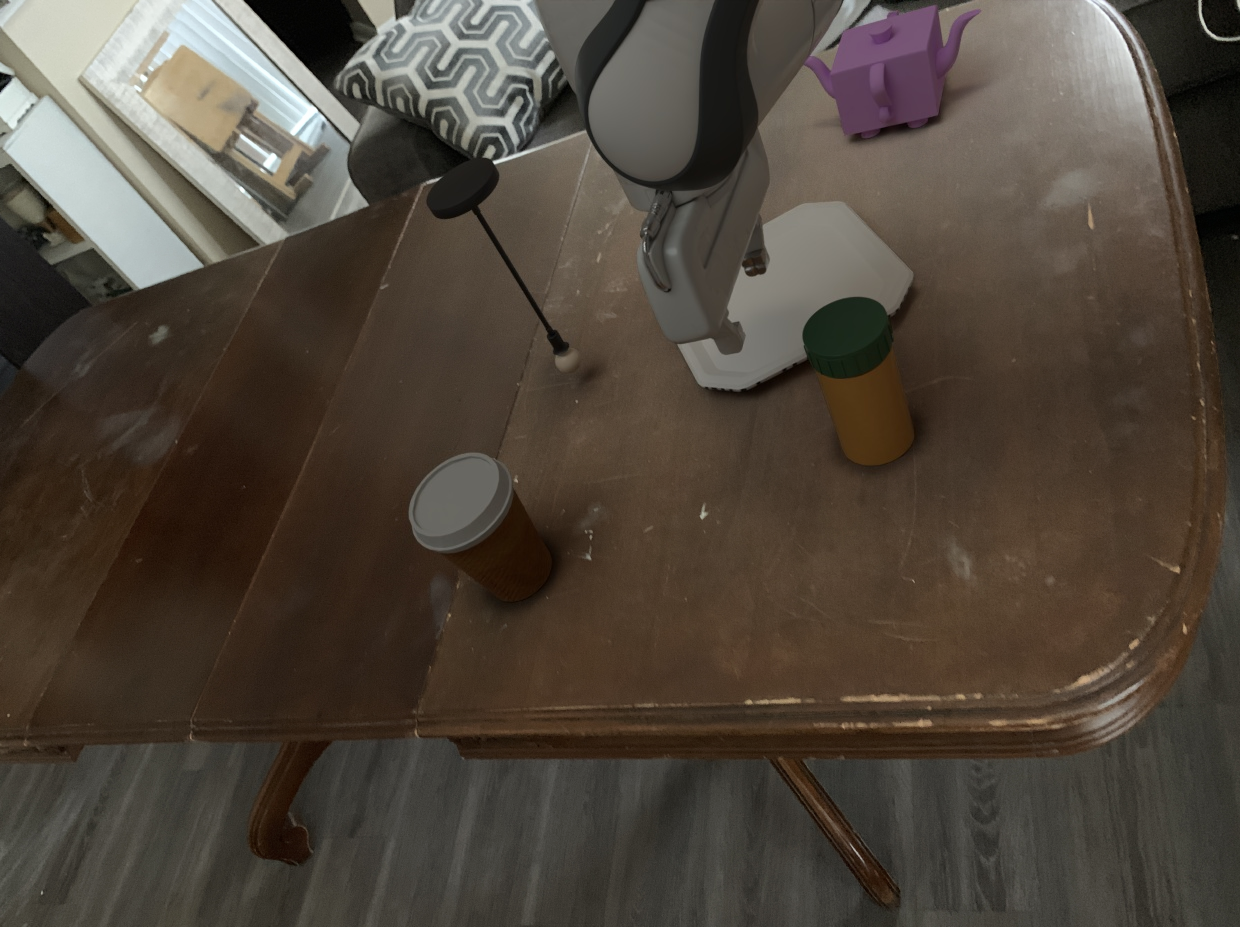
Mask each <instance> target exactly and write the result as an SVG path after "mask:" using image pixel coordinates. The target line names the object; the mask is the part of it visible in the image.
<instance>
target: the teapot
mask: <svg viewBox="0 0 1240 927" xmlns="http://www.w3.org/2000/svg"><path fill="white" fill-rule="evenodd" d="M981 12H982V9H981V8H978V9H973V10H968V11H967V12H964V13H962V14H961V15H959V16H958V17H957V18H955V19H954V21H953V23H952V25H951V26H950V30H949V33H948V37H947V41H946V42H945V45H944V39H943V34H942V27H941V21H940V13H939V7H938V4H933V5H929V6H926V7H922V8H919V9H915V10H912V11H908V12H904V13H901V14H900V12H899V9H897V10H892V11H889V12H888V13H887V14H886V18H884V19H880V20H877V21H873V22H870V23H866V24H865V23H864V24H862V25H859V26H855V27H852V28H848V29H845V30H843V31H842V34H841V38H840V41H839V44H838V47H837V50H836V53H835V57H834V60H833V63H832V67H831V69H830V68H829V67H828V66H827V64H826V63H825V62H824V61H823V60H822V59H821V58H819V57H817V56H814V55H810V56H809V58H808V59H807V60H806V62H805V63H804V64H803V66H805V67H807V68H808V69H810V70H811V71H812V72H813V74H814V75H815V76H816V78H817V79H818V81H819V83H820V85H821V87H822V88H823V90H824V91H825V92H826V94H827V95H828V96H829V97H830V98H832V99H834V100H835V103H836V108H837V111H838V115H839V121H840V123H841V127H842V131H843V135H844V136H850V135H855V134H860V133H861V135H860V137H861V138H863V139H870V138H873V137H875V136H877V135H878V134H879V133H880V132H881V129H882V128H887V127H891V126H896V125H900V124H905V123H907V125H908V127H909V128H910V129H916V128H920V127H922V126H924V125H925V124H927V123H928V121H929V118H932V117H937V116H938V115H939V111H940V105H941V101H942V98H943V97H942V96H943V92H944V86H945V83H946V78H947V77H946V76H947V74H948V72H950V70H951V69H952V68H953V67H954V65H955V63H956V61H957V58H958V55H959V52H960V47H961V41H962V38H963V37H962V36H963V33H964V30H965V29H966V26H968V24H969V23H970V21H972V20H973V19H974V18H975V17H976V16H978V15H980V13H981Z"/></svg>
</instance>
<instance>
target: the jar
mask: <svg viewBox="0 0 1240 927" xmlns="http://www.w3.org/2000/svg"><path fill="white" fill-rule="evenodd" d="M814 372H815V375H816V377H817V380H818V383H819V387H820V390H821V393H822V395H823V398H824V401H825V404H826V408H827V410H828V413H829V415H830V419H831V421H832V424H833V426H834V431H835V433H836V436H837V439H838V442H839V444H840V447H841V448H840V449H841V450H842V452H843V454H844V456H845V457H846V458H847V459H848V460H849V461H851V462H853V463H855V464H858V465H862V466H871V467H873V466H880V465H881V466H882V465H885V464H889V463H891V462H894V461H895V460H898V458H900V457H901V456H903V455H904V454H905V453H906V452H907V451H908V450H909V449H910V447H911V446H912V444H913V442H914V439H915V427H914V423H913V418H912V415H911V411H910V408H909V404H908V400H907V395H906V391H905V388H904V384H903V380H902V376H901V372H900V368H899V363H898V359H897V355H896V351H895V347H894V343H893V344H892V348H891V351H890V352H889V354H888V355H887V357H886V358H885V359H884V360H883V361H882V362H881V363H880V364H879V365H877V366H876V367H874V368H873V369H871V370H870V371H868V372H865V373H863V374H860V375H857V376H854V377H848V378H832V377H827V376H824V375H821V374H820V373H818V372H817V371H816V370H815V369H814Z"/></svg>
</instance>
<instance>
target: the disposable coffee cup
mask: <svg viewBox="0 0 1240 927" xmlns="http://www.w3.org/2000/svg"><path fill="white" fill-rule="evenodd" d="M409 502H410V503H409V505H408V506H409V507H408V520H409V522H410V524H411V529H412V534H413V536H414V538H415V540H416V541H417V542H418V543H419V544H420V545H421V546H422V547H423V548H426V549H427V550H430V551H433V552H436V553H438V554H440V555H441V556H442V557H444V558H445V560H448V561H449V562H450V563H452V564H453V565H454V566H455V567H457V568H458V569H459V570H460V571H462V572H463V573H465V574H466V575H467V576H469V577H470V578H471V579H472V580H474V581H475V582H477V583H478V584H479V585H480V586H482V587H483V588H484V589H486V590H487V591H489V592H490V593H491V594H492V595H494V596H495V597H496V598H498V599H499V600H500V601H503V602H508V603H509V602H510V603H511V602H512V603H515V602H518V601H523V600H525V599H527V598H529V597H531V596H533V595H534V594H536V592H537V591H538V590H540V589H541V588H542V587H543V585H545V583H546V582H547V580H548V578H549V576H550V574H551V571H552V567H553V560H552V556H551V552H550V551H549V549H548V547H547V546H546V544H545V542H544V541H543V539H542V536H541V534H540V533H539V531H538V529H537V528H536V526H535V524H534V522H533V520H532V519H531V517H530V515H529V514H528V511H527V510H526V508H525V506H524V504H523V502H522V500H521V499H520V497H519V495H518V494H517V492H516V490H515V488H514V483H513V478H512V474H511V472H510V470H509V469H508V467H507V466H506V465H505V464H504V463H503V462H502V461H499V460H498V459H496V458H493V457H491V456H489V455H487V454H486V453H481V452H466V453H461V454H458V455H454V456H453V457H450V458H448V459H446V460H444V461H443V462H441V463H439V464H438V465H437V466H436V467H435V468H433V469H432V470H431V471H430V472H429V473H428V474H427V475H425V476H424V478H423V479H422V480H421V482H420V483H419V484H418V485H417V487H416V489H415V490H414V493H413V495H412V497H411V499H410V501H409Z"/></svg>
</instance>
